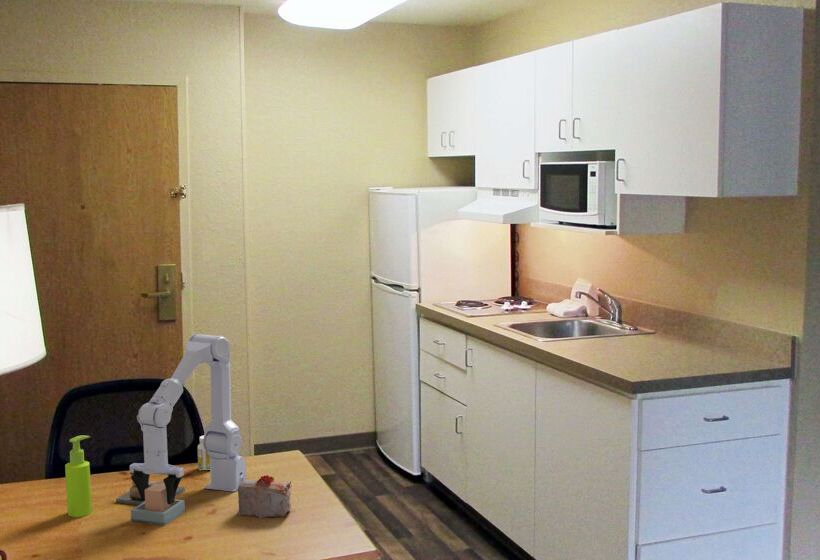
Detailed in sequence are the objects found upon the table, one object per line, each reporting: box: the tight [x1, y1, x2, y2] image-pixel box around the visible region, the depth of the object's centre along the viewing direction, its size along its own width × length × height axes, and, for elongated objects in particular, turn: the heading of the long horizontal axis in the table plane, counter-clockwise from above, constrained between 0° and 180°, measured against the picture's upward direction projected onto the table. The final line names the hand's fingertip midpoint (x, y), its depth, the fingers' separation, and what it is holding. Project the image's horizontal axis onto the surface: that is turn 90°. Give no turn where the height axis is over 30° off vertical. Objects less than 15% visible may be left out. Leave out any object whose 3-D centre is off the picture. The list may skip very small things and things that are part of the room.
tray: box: [130, 498, 186, 526], centre depth 230 cm, size 10×10×3 cm
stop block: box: [145, 484, 171, 512], centre depth 229 cm, size 4×4×7 cm
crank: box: [129, 471, 165, 499], centre depth 244 cm, size 12×11×5 cm
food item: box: [237, 474, 293, 519], centre depth 231 cm, size 14×8×10 cm, turn 84°
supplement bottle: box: [197, 435, 210, 471], centre depth 266 cm, size 5×5×10 cm
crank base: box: [115, 485, 186, 506], centre depth 244 cm, size 13×13×1 cm
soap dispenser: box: [64, 434, 93, 518], centre depth 232 cm, size 6×7×20 cm
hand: (157, 501), depth 229 cm, fingers open, 7 cm apart
